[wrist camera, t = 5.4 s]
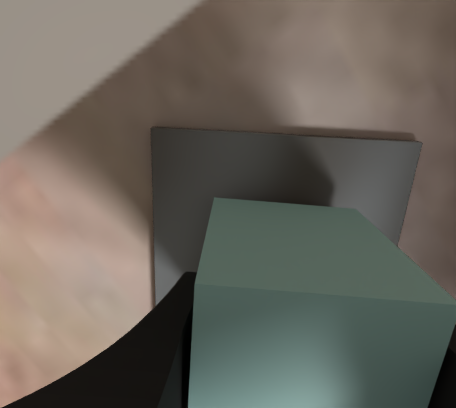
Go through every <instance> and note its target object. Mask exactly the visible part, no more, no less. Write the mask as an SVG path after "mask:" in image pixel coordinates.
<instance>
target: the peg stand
mask: <svg viewBox="0 0 456 408" xmlns="http://www.w3.org/2000/svg"><path fill="white" fill-rule="evenodd" d="M421 147H422V142H418V141H406V140H387V139H369V138H350V137H332V136H313V135H294V134H276V133H257V132H239V131H220V130H201V129H183V128H164V127H152V128H151V149H152V186H153V224H154V261H155V299H156V305H157V304H158V303H159V302H160V301H161V300H162V299H163V298H164V296H165V295H166V294H167V293H168V292H169V291H170V290H171V288H172V287H173V286H174V285H175V284H176V282H177V281H178V280H179V278H180V277H181V276H182V274H183V273H185V272H186V271H187V272H197V271H198V267H199V262H200V258H201V253H202V249H203V245H204V240H205V236H206V231H207V227H208V222H209V218H210V214H211V209H212V205H213V200H214V197H215V198H228V199H240V200H252V201H265V202H277V203H289V204H302V205H314V206H326V207H339V208H351V209H356V210H358V211H359V212H360V213H361V214H362V215H363V216H364V217H365V218H366V219H367V220H369V221H370V222H371V223H372V224H373V225H374V226H375V227H376V228H377V229H378V230H380V231H381V232H382V233H383V234H384V235H385V236H386V237H387V238H388V239H389V240H390V241H392V242H393V243H394V244H395V245H396V246H397V245H398V241H399V237H400V233H401V229H402V225H403V221H404V216H405V212H406V208H407V204H408V200H409V196H410V192H411V188H412V184H413V180H414V176H415V172H416V168H417V163H418V159H419V155H420V151H421Z"/></svg>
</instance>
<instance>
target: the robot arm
mask: <svg viewBox="0 0 456 408" xmlns="http://www.w3.org/2000/svg"><path fill="white" fill-rule="evenodd" d="M196 275H197V272H187V271H186V272H185V273H183V274H182V276H181V277H180V278H179V280H178V281H177V282H176V284H175V285H174V286H173V287H172V288H171V290H170V291H169V292H168V293H167V294H166V295H165V296H164V298H163V299H162V300H161V301H160V302H159V303H158V304H157V305H156V306H155V307H154V308H153V309H152V310H151V311H150V312H149V313H148V314H147V315H146V316H145V317H144V318H143V319H142V320H141V321H140V322H139V323H138V324H137V325H136V326H134V327H133V328H132V329H131V330H130V331H129V332H128V333H126V334H125V335H124V336H123V337H121V338H120V339H119V340H118V341H116V342H115V343H114V344H113V345H111V346H110V347H109V348H107V349H106V350H104V351H103V352H101V353H100V354H98V355H97V356H95V357H94V358H92V359H91V360H89V361H88V362H86V363H85V364H83V365H82V366H80V367H78V368H77V369H75V370H73V371H72V372H70V373H68V374H67V375H65V376H63V377H61V378H60V379H58V380H56V381H54V382H52V383H51V384H49V385H47V386H45V387H43V388H41V389H39V390H37V391H35V392H34V393H32V394H29V395H27V396H25V397H23V398H21V399H19V400H17V401H15V402H13V403H10V404H8V405H6V406H4V407H2V408H188V398H189V379H190V360H191V342H192V323H193V305H194V286H195V280H196ZM427 408H456V325H455V326H454V329H453V332H452V335H451V338H450V341H449V344H448V347H447V350H446V353H445V356H444V359H443V362H442V365H441V368H440V371H439V374H438V377H437V380H436V383H435V386H434V389H433V392H432V395H431V398H430V401H429V404H428V407H427Z"/></svg>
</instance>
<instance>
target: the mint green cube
mask: <svg viewBox="0 0 456 408" xmlns="http://www.w3.org/2000/svg"><path fill="white" fill-rule="evenodd" d="M455 323H456V300H455V299H454V298H453V297H452V296H451V295H450V294H449V293H447V292H446V291H445V290H444V289H443V288H442V287H441V286H440V285H439V284H438V283H437V282H435V281H434V280H433V279H432V278H431V277H430V276H429V275H428V274H427V273H426V272H424V271H423V270H422V269H421V268H420V267H419V266H418V265H417V264H416V263H415V262H414V261H412V260H411V259H410V258H409V257H408V256H407V255H406V254H405V253H404V252H403V251H401V250H400V249H399V248H398V247H397V246H396V245H395V244H394V243H393V242H392V241H390V240H389V239H388V238H387V237H386V236H385V235H384V234H383V233H382V232H381V231H380V230H378V229H377V228H376V227H375V226H374V225H373V224H372V223H371V222H370V221H369V220H367V219H366V218H365V217H364V216H363V215H362V214H361V213H360V212H359V211H358V210H356V209H351V208H339V207H326V206H314V205H302V204H289V203H277V202H265V201H252V200H240V199H228V198H215V197H214V200H213V205H212V209H211V214H210V218H209V222H208V227H207V231H206V236H205V240H204V245H203V249H202V253H201V258H200V262H199V267H198V271H197V275H196V280H195V286H194V305H193V323H192V342H191V360H190V379H189V398H188V408H427V407H428V404H429V401H430V398H431V395H432V392H433V389H434V386H435V383H436V380H437V377H438V374H439V371H440V368H441V365H442V362H443V359H444V356H445V353H446V350H447V347H448V344H449V341H450V338H451V335H452V332H453V329H454V326H455Z"/></svg>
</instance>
